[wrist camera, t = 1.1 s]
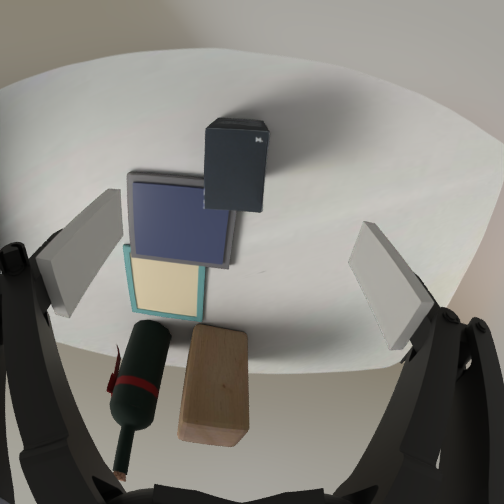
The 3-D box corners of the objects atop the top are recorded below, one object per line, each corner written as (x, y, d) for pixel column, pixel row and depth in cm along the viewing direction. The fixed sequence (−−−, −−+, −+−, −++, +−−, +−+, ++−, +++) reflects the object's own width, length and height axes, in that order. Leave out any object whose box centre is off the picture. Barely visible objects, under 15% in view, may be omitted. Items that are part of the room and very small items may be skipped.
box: (216, 117, 30) (204, 126, 21) (264, 120, 30) (272, 130, 21) (213, 177, 34) (202, 210, 25) (258, 180, 34) (263, 214, 25)
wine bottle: (119, 315, 47) (70, 460, 22) (169, 322, 48) (137, 481, 22) (127, 341, 51) (91, 472, 26) (173, 348, 52) (150, 489, 27)
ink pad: (133, 253, 40) (130, 258, 39) (129, 172, 33) (125, 175, 32) (229, 265, 41) (228, 270, 40) (240, 182, 34) (240, 185, 33)
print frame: (133, 309, 46) (132, 311, 46) (124, 244, 39) (122, 246, 38) (202, 320, 47) (202, 322, 47) (206, 254, 40) (206, 256, 40)
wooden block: (248, 330, 49) (251, 431, 32) (236, 360, 54) (235, 448, 37) (194, 320, 48) (179, 422, 31) (188, 351, 53) (176, 441, 36)
